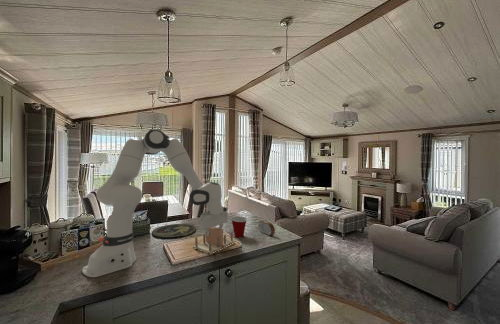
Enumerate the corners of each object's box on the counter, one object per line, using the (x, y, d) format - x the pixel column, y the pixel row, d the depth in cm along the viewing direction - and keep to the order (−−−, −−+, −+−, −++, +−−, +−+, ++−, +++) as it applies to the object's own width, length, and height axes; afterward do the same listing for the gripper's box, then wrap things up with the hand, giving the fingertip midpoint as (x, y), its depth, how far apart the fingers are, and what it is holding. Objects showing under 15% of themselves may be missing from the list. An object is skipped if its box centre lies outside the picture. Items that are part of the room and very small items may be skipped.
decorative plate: (143, 237, 146) (162, 223, 176) (143, 239, 146) (162, 225, 176) (189, 237, 146) (200, 223, 176) (189, 240, 146) (200, 225, 176)
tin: (275, 236, 149) (275, 223, 149) (271, 237, 147) (271, 224, 147) (261, 230, 162) (261, 218, 162) (257, 231, 160) (257, 219, 160)
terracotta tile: (220, 246, 130) (220, 230, 130) (205, 241, 137) (205, 226, 137) (223, 244, 132) (223, 229, 132) (208, 240, 139) (208, 225, 139)
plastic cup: (242, 240, 143) (241, 221, 143) (227, 237, 148) (227, 219, 148) (250, 235, 152) (250, 217, 152) (237, 232, 158) (236, 215, 157)
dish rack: (211, 254, 122) (211, 242, 122) (192, 248, 131) (192, 237, 130) (235, 243, 138) (235, 232, 138) (217, 238, 147) (217, 228, 147)
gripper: (204, 214, 123) (204, 239, 124) (229, 207, 140) (229, 230, 140) (196, 212, 127) (196, 237, 127) (221, 206, 144) (222, 228, 144)
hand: (214, 233), depth 134 cm, fingers open, 8 cm apart
